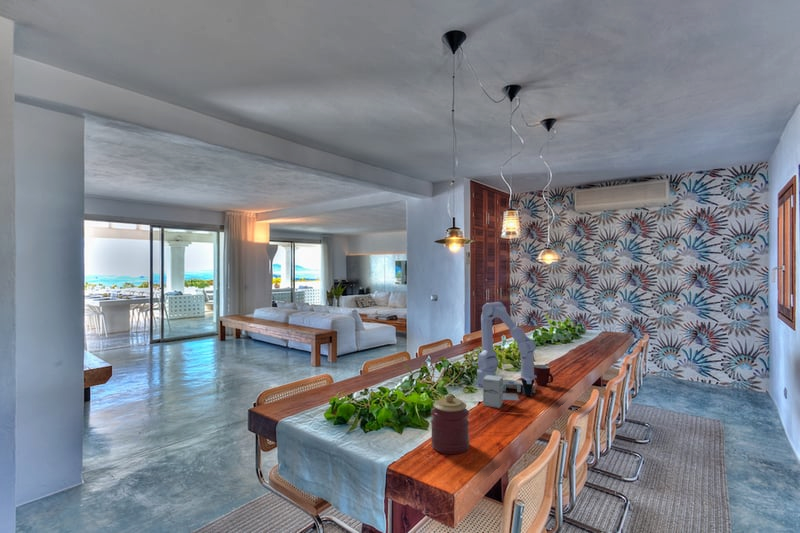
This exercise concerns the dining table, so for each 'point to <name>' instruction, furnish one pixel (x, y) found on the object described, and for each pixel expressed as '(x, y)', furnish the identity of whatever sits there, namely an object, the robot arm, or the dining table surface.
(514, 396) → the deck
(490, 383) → the supplement box
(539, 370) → the mug
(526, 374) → the robot arm
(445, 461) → the dining table surface
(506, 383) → the socket bar
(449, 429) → the canister
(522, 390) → the plug
